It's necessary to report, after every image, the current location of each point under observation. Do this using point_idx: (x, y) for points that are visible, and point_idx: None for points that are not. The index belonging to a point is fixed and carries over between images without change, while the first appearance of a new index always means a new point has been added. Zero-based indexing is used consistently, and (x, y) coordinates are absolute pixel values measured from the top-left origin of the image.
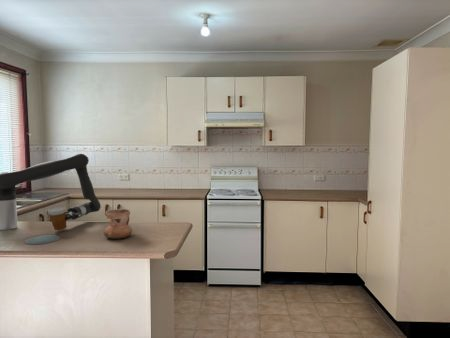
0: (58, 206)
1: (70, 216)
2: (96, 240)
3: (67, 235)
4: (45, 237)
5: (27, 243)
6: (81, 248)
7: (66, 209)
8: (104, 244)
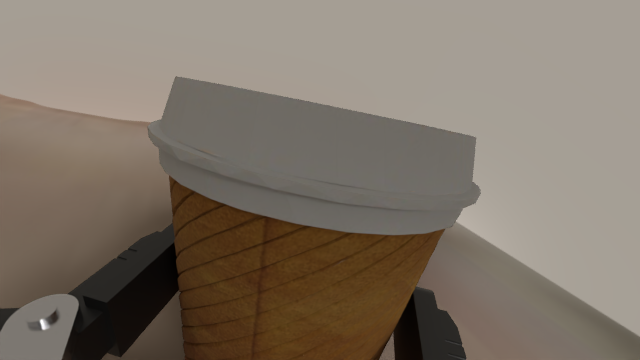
0: (385, 132)
1: (87, 283)
2: (22, 165)
3: None
4: None
5: None
6: (128, 132)
7: (153, 122)
8: (20, 134)
